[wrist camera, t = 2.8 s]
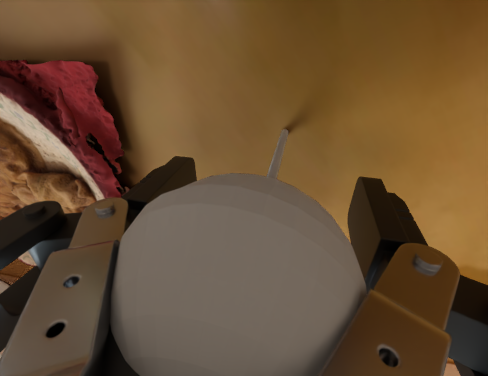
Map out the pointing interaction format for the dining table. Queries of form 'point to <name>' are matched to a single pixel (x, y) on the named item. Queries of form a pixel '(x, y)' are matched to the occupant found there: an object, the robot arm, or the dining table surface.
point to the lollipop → (234, 280)
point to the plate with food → (54, 138)
